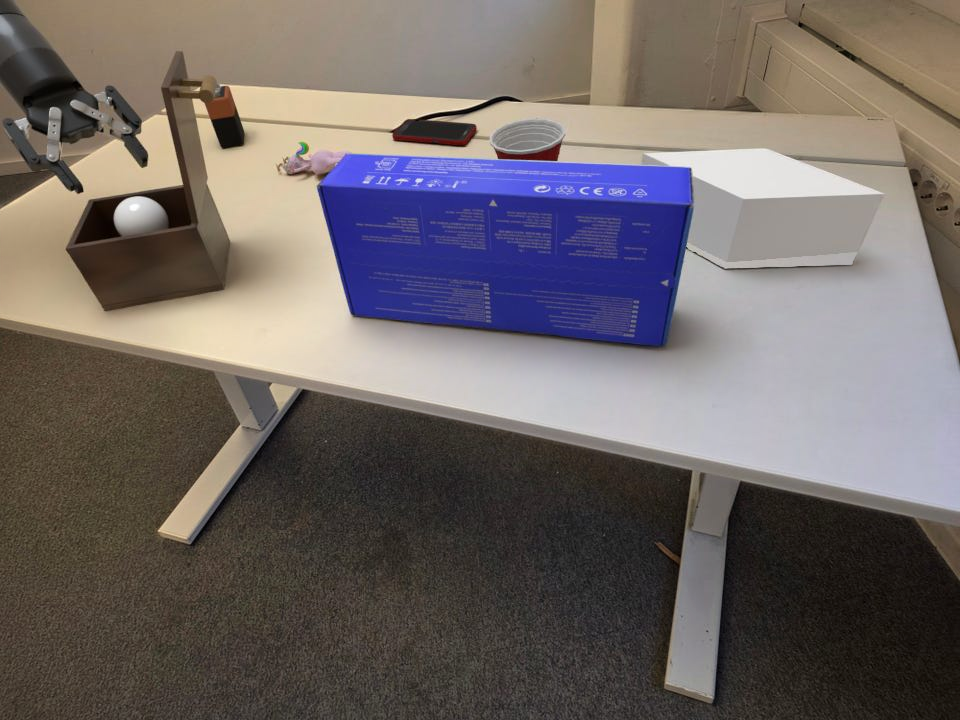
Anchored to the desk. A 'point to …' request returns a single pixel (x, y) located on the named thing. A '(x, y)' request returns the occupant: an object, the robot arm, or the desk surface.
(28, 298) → the desk surface
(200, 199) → the chest lid
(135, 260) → the chest
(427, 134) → the cell phone
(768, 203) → the white box
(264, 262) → the desk surface
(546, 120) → the plastic cup
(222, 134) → the battery
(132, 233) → the lightbulb
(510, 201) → the blue cardboard box
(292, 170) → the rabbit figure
